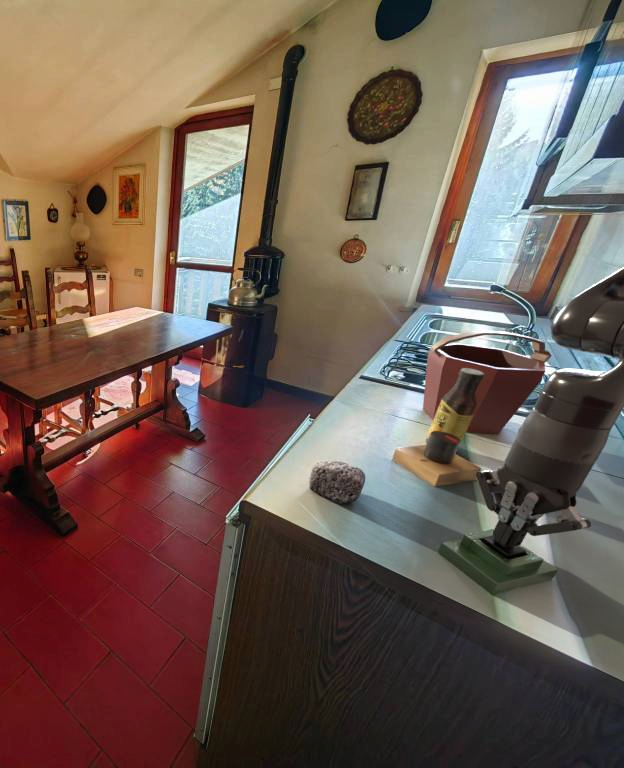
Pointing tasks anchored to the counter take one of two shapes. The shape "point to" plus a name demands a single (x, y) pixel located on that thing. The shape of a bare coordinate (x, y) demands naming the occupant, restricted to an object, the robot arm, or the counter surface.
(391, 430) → the counter surface
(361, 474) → the pumice stone
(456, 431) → the sauce bottle
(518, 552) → the plate
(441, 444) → the dark grey short cylinder
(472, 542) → the block
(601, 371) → the robot arm
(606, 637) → the counter surface
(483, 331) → the bucket
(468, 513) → the counter surface
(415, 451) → the flat wooden block
